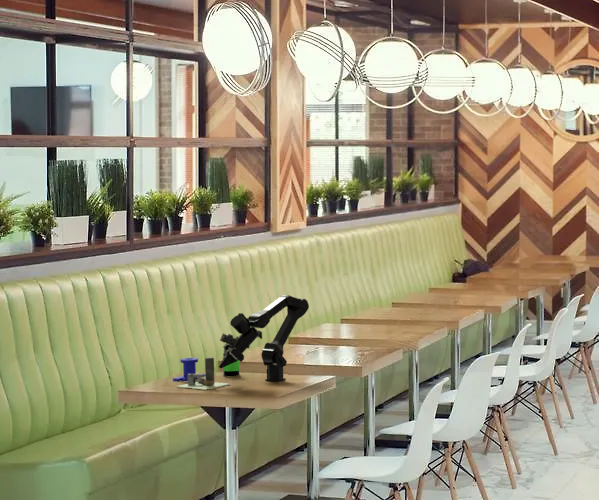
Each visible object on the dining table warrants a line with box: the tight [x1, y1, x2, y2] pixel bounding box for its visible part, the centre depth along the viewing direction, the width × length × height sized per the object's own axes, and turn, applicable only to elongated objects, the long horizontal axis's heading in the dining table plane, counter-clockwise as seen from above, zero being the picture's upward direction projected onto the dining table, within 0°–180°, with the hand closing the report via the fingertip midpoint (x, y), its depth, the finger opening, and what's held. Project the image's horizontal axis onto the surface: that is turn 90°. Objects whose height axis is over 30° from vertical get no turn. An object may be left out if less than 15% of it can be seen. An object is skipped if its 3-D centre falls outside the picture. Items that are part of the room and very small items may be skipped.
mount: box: [172, 357, 206, 382], centre depth 526 cm, size 15×8×9 cm, turn 153°
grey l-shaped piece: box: [196, 356, 215, 385], centre depth 507 cm, size 14×4×11 cm, turn 23°
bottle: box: [222, 343, 241, 377], centre depth 533 cm, size 7×7×15 cm
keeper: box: [187, 373, 205, 385], centre depth 506 cm, size 3×6×5 cm, turn 78°
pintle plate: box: [176, 381, 231, 391], centre depth 505 cm, size 16×15×1 cm
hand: (219, 367), depth 503 cm, fingers closed
